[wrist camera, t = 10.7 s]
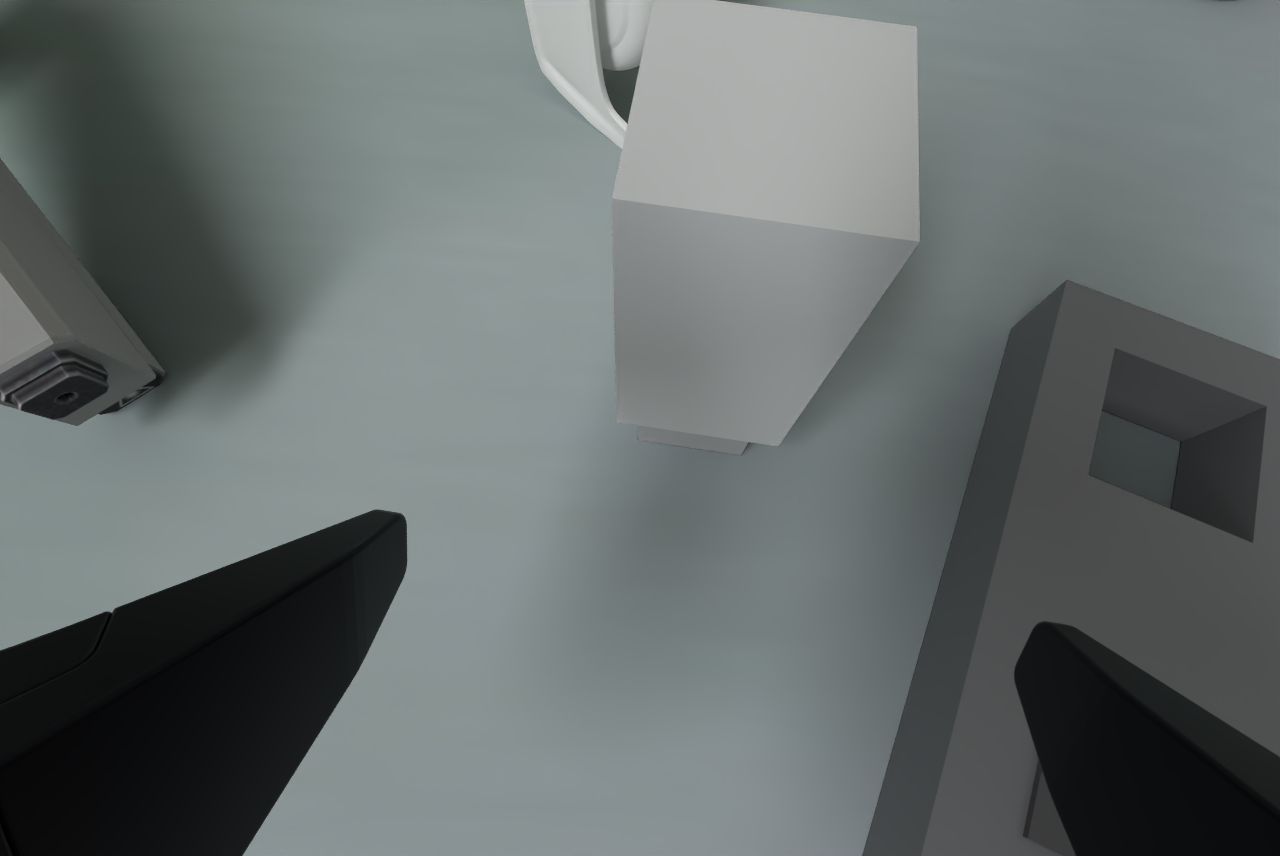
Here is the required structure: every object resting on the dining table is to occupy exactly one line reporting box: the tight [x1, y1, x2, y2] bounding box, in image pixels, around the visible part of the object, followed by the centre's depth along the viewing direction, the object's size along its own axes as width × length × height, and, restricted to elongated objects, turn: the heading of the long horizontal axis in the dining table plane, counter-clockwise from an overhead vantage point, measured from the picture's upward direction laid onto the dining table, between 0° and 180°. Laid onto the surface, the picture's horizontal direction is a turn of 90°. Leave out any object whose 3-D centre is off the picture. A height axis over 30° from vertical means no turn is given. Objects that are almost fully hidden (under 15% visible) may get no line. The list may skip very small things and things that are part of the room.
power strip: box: [863, 280, 1280, 856], centre depth 16 cm, size 24×8×4 cm, turn 155°
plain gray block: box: [612, 0, 920, 455], centre depth 16 cm, size 5×5×12 cm
